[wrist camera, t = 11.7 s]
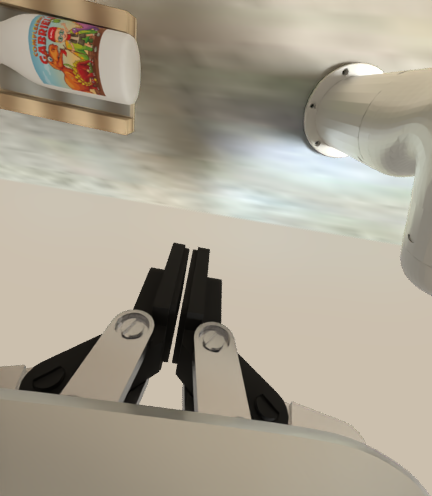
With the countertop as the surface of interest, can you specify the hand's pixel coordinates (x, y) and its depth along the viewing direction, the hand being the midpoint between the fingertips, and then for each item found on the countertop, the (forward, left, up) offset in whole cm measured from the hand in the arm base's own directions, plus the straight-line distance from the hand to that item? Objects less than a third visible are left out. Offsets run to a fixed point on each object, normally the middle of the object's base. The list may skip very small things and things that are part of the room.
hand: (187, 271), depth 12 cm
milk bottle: (+12, -7, -30) cm, 33 cm away
